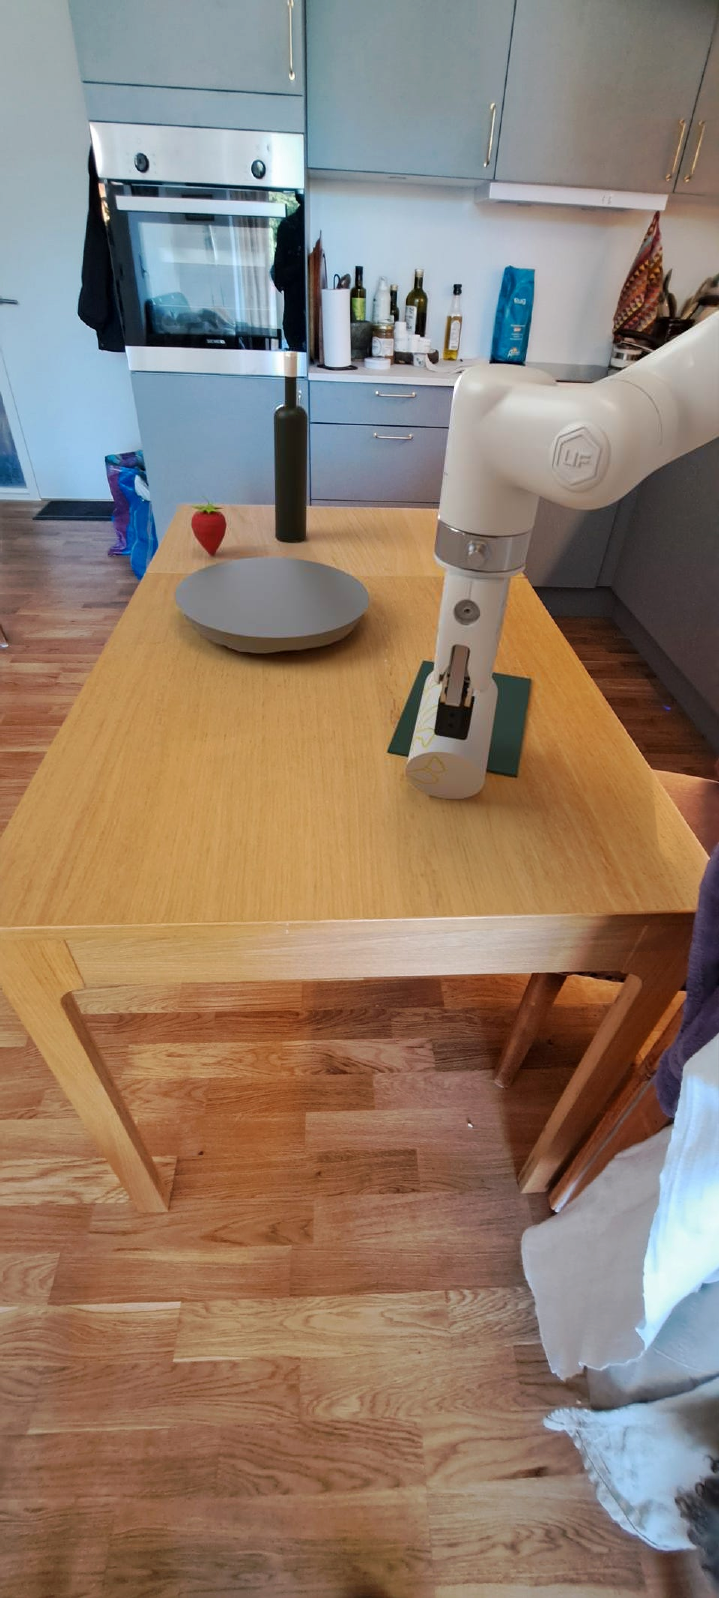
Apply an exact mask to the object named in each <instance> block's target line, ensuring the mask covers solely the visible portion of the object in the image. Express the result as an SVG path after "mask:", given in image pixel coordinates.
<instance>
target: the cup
mask: <svg viewBox="0 0 719 1598" xmlns="http://www.w3.org/2000/svg"><path fill="white" fill-rule="evenodd" d="M433 674H434V671H433V672H431V673H430V674H429V676H428V677H427V679H426V682H425V686H424V690H423V695H422V699H421V703H420V708H419V712H418V717H417V721H416V726H415V730H414V734H413V739H412V743H411V748H410V752H409V757H408V756H407V762H406V765H405V775H406V778H407V780H408V782H409V783H410V784H411V785H412V786H413V787H414V788H416V789H417V790H418V791H420V792H422V793H423V794H426V795H428V796H431V797H433V798H439V799H442V800H443V799H444V800H462V799H466V798H470V797H472V796H474V795H476V794H478V793H479V792H480V791H481V790H482V789H483V787H484V785H485V780H486V773H487V772H486V768H487V761H488V754H489V748H490V741H491V735H492V728H493V722H494V715H495V709H496V702H497V695H498V689H497V686H496V683H495V682H494V680H493V679H492V678H491V683H490V686H489V689H488V690H487V691H485V692H483V693H481V691H478V690H474V692H473V695H472V696H475V700H474V706H473V712H472V717H471V723H470V728H469V732H468V737H467V739H466V740H459V739H453V738H448V737H442V736H437V735H435V734H434V728H435V721H436V714H437V707H438V700H439V696H440V693H441V691H442V683H443V682H442V683H441V682H440V684H439V685H438V684H437V683H436V682H435V681H434V679H433Z"/></svg>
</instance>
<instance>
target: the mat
mask: <svg viewBox="0 0 719 1598" xmlns="http://www.w3.org/2000/svg"><path fill="white" fill-rule="evenodd" d="M434 662H435V661H430V660H424V659H423V660H422V662H421V664H420V668H419V669H418V672H417V675H416V677H415V680H414V682H413V684H412V688H411V690H410V692H409V695H408V697H407V699H406V703H405V705H404V707H403V710H402V713H401V715H400V717H399V720H398V723H397V725H396V728H395V730H394V733H393V735H392V738H391V741H390V742H389V745H388V748H387V751H386V753H388V754H393V755H398V756H403V757H407V758H408V757H409V752H410V748H411V743H412V739H413V734H414V730H415V726H416V721H417V717H418V712H419V708H420V703H421V699H422V695H423V690H424V686H425V682H426V679H427V677H428V676H429V674H430V673H431V672H433V671H434ZM492 679H493V680H494V682H495V683H496V686H497V689H498V695H497V702H496V709H495V715H494V722H493V728H492V735H491V741H490V748H489V754H488V761H487V768H486V773H492V774H497V775H503V776H507V777H513V778H518V774H519V768H520V760H521V753H522V747H523V739H524V734H525V733H524V731H525V725H526V717H527V710H528V704H529V697H530V691H531V684H532V683H531V682H532V678H529V677H523V676H517V675H511V674H506V673H500V672H494V671H493V674H492Z"/></svg>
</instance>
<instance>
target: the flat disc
mask: <svg viewBox="0 0 719 1598" xmlns="http://www.w3.org/2000/svg"><path fill="white" fill-rule="evenodd" d="M364 585H365V584H363V583H362V582H361V581H360V580H359V579H357V578H356V577H355V576H353V575H352V574H350V573H348V572H346V571H345V570H341V569H339V568H336V567H334V566H331V565H328V564H326V563H325V564H324V563H320V562H317V561H311V560H307V559H299V558H290V557H279V556H278V557H273V556H272V557H271V556H267V557H266V556H264V557H263V556H259V557H246V558H238V559H237V558H236V559H231V560H226V561H222V562H218V563H214V564H209V565H208V566H204V567H202V568H200V569H198V570H196V571H193V572H191V573H190V574H189V575H188V576H186V577H185V578H183V579H182V580H181V581H180V582H179V584H178V585H177V587H176V589H175V592H174V600H175V603H176V606H177V607H178V609H179V610H180V611H181V612H182V613H183V614H184V617H185V619H186V621H187V622H188V624H190V625H191V627H192V628H193V629H194V630H195V631H196V632H197V633H198V634H200V635H201V636H202V637H203V638H205V639H207V640H209V641H211V642H213V643H214V644H218V645H219V646H226V647H227V648H228V649H232V650H236V651H237V652H240V653H241V652H244V653H247V652H249V653H251V654H268V653H269V654H270V653H276V652H282V651H283V652H284V651H302V650H306V649H313V648H320V647H323V646H327V645H331V644H333V643H335V642H337V641H341V640H343V638H345V637H346V636H347V635H348V634H349V633H351V632H352V631H353V630H354V629H355V627H356V626H357V624H358V623H359V621H360V618H361V616H362V615H364V613H365V611H367V609H368V606H369V604H370V594H369V591H368V589H367V588H366V586H364Z"/></svg>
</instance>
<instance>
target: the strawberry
mask: <svg viewBox="0 0 719 1598" xmlns="http://www.w3.org/2000/svg"><path fill="white" fill-rule="evenodd" d="M201 497H203V498H204V499H205V500H206V501H207V502H208V504H207V505H206V506H204V505H191V506H190V507H191V508H194V509H198V510H197V511H195V512H194V514H193V515H192V516H191V521H190V522H191V523H190V526H191V529H192V532H193V535H194V537H195V538H196V540H197V541H198V543H199V544H200V545H201V547H202V548H203V549H204V550H205V551H206V553H207V554H208V555H209V556H214V555H215V554H217V552H218V549H219V548H220V546H221V544H222V543H223V539H224V538H225V536H226V530H227V521H226V520H227V519H226V516H225V515H224V514H223V513H222V512H221V511H220V510H221V509H223V507H221V506H214V503H210V501H209V500H208V499H207V498H206V497H205V496H204V495H201Z"/></svg>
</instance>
